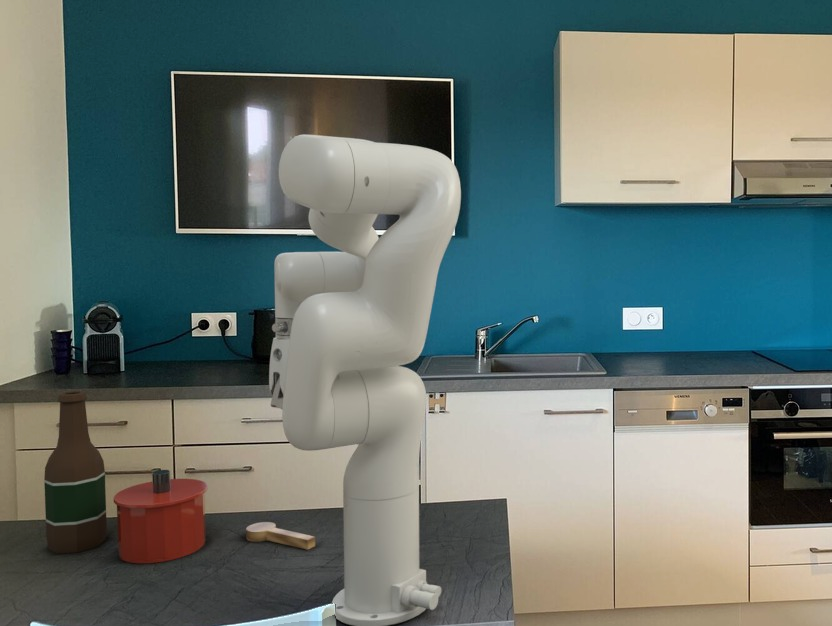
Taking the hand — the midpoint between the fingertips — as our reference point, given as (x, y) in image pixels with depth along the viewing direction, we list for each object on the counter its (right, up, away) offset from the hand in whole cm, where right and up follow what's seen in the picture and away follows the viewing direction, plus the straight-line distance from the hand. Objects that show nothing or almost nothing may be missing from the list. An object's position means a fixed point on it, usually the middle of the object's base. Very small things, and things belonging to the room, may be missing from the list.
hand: (301, 437), depth 128 cm
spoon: (-2, -15, -5) cm, 16 cm away
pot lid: (-18, -7, -9) cm, 21 cm away
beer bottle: (-32, -16, -7) cm, 36 cm away
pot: (-18, -16, -8) cm, 25 cm away
